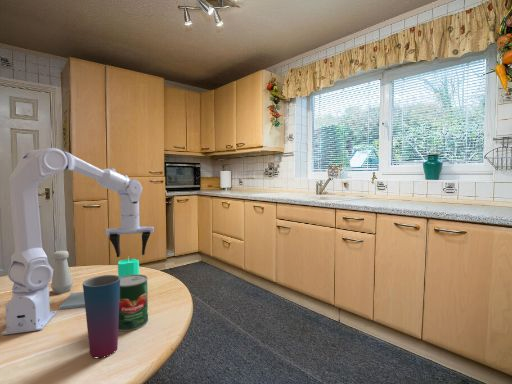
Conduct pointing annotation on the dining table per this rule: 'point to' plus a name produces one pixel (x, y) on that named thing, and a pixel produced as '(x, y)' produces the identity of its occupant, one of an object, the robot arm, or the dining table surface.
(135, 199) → the robot arm
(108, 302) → the cup
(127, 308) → the canned tomato
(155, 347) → the dining table surface
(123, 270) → the candle
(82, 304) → the mat
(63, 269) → the salt shaker
